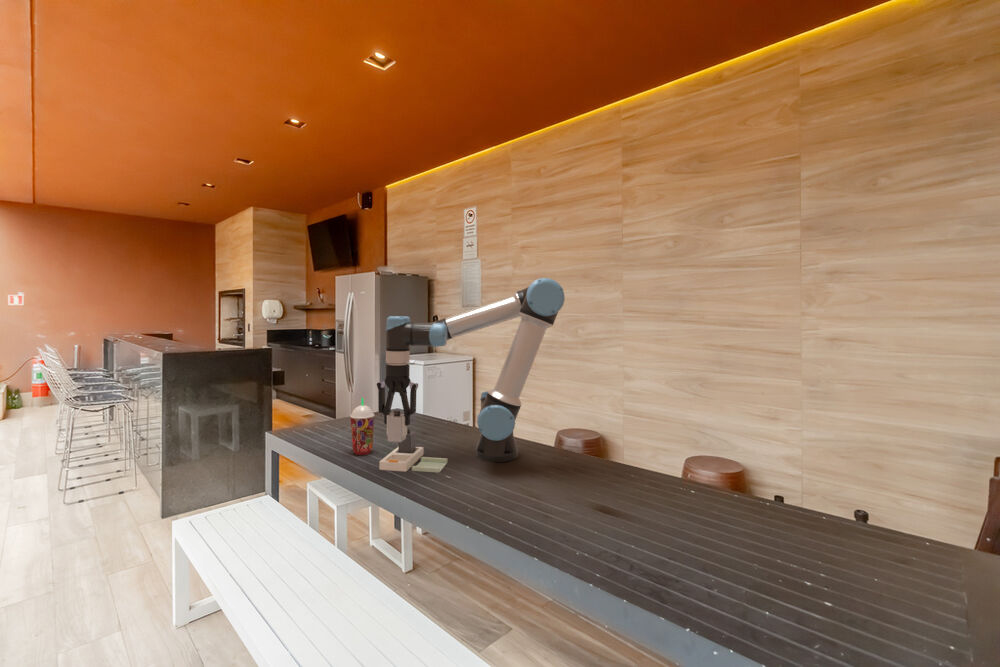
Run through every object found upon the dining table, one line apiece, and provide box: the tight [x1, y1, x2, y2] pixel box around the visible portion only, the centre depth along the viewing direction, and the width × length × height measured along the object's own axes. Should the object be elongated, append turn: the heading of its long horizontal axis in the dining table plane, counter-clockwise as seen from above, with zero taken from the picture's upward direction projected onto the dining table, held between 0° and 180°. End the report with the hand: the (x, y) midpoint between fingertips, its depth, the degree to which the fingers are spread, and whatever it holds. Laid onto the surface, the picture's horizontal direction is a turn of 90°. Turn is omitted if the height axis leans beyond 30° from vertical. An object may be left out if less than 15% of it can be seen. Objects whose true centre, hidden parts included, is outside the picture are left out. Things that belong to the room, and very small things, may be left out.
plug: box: [387, 410, 406, 443], centre depth 146 cm, size 4×4×10 cm
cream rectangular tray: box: [378, 427, 425, 472], centre depth 151 cm, size 9×17×10 cm, turn 171°
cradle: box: [411, 456, 449, 473], centre depth 147 cm, size 9×10×2 cm
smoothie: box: [350, 397, 375, 456], centre depth 161 cm, size 8×8×20 cm
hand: (397, 434), depth 146 cm, fingers closed on plug, 4 cm apart
